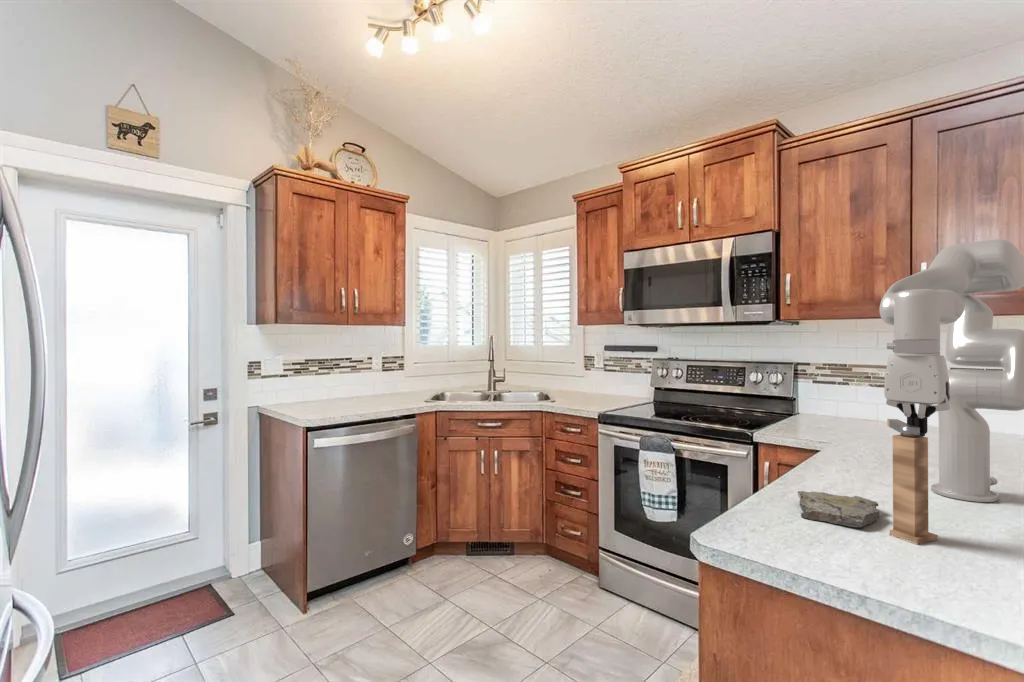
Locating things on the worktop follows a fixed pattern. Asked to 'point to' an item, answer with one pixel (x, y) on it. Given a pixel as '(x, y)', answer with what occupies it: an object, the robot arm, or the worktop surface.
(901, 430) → the latch bar
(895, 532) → the post
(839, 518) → the stone
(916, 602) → the worktop surface
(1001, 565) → the worktop surface
